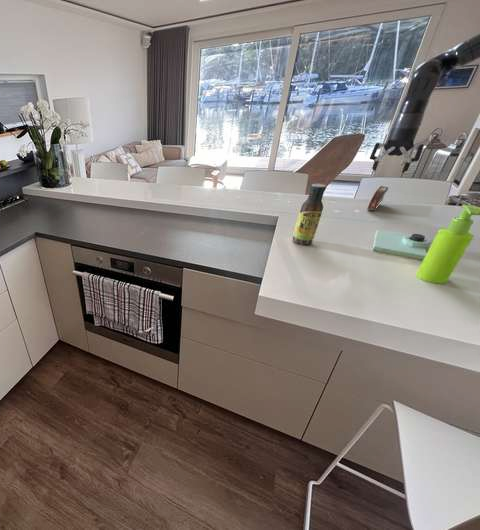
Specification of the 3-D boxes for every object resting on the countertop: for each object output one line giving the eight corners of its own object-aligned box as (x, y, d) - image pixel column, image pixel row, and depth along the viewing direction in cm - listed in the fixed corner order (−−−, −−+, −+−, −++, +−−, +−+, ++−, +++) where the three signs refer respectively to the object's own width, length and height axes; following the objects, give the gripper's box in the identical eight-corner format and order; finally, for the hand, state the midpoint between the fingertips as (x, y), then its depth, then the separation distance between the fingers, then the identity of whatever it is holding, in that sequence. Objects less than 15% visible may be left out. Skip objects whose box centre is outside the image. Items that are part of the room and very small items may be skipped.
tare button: (422, 239, 89) (425, 235, 89) (423, 243, 88) (425, 238, 87) (409, 237, 91) (411, 233, 90) (409, 241, 89) (412, 236, 89)
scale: (424, 240, 94) (428, 232, 93) (426, 260, 84) (431, 251, 82) (375, 232, 101) (379, 224, 100) (372, 250, 91) (376, 242, 90)
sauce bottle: (293, 245, 98) (308, 187, 88) (289, 237, 103) (303, 182, 93) (315, 246, 96) (332, 187, 86) (310, 238, 101) (326, 182, 91)
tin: (373, 202, 126) (381, 183, 121) (382, 203, 124) (390, 184, 119) (365, 212, 117) (372, 192, 113) (374, 213, 115) (382, 193, 111)
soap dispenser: (419, 282, 76) (458, 210, 65) (413, 269, 80) (449, 201, 70) (450, 287, 73) (496, 213, 63) (443, 274, 78) (484, 203, 68)
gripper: (432, 124, 103) (412, 170, 111) (381, 125, 111) (366, 168, 119) (433, 127, 98) (412, 175, 106) (380, 127, 106) (364, 172, 115)
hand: (388, 171), depth 113 cm, fingers open, 8 cm apart
